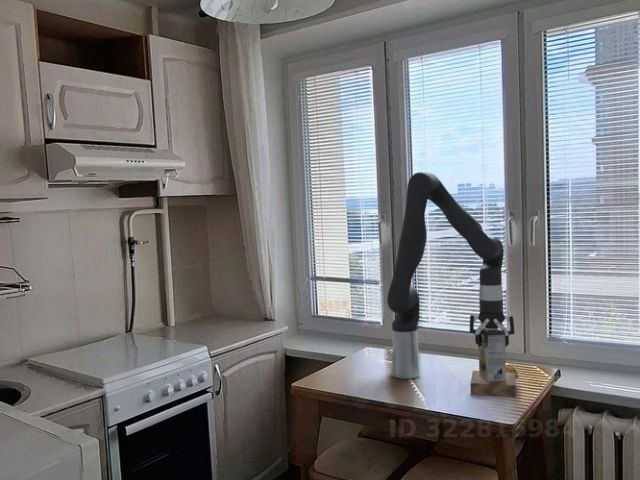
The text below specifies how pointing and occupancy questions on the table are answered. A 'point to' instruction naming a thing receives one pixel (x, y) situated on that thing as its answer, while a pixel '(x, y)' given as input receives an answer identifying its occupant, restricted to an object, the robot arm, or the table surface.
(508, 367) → the pastry
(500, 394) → the plinth
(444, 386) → the table surface
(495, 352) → the coffee box
